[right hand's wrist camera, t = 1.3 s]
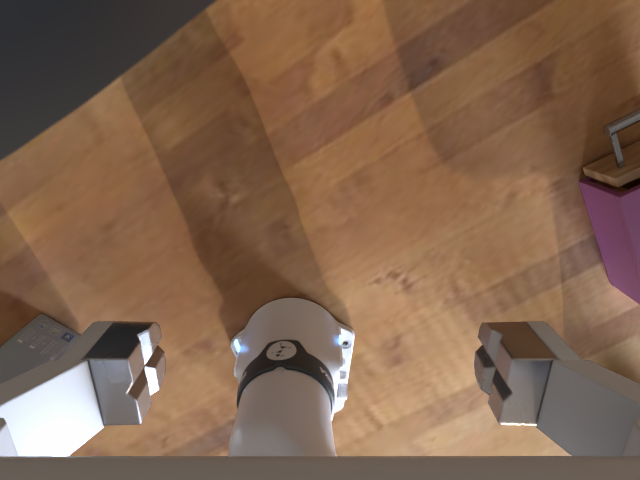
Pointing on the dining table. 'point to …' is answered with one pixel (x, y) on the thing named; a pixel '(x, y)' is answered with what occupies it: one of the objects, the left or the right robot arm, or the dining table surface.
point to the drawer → (618, 158)
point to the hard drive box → (34, 346)
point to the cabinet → (616, 232)
